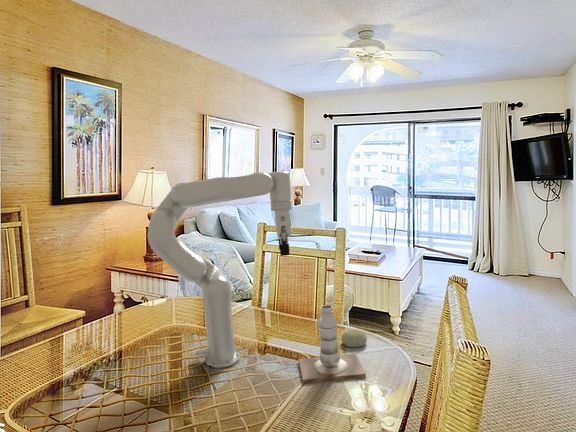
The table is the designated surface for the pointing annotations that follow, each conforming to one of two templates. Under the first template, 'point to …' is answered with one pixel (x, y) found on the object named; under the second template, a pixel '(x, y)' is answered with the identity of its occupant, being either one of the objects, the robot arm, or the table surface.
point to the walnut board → (331, 369)
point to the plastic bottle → (328, 337)
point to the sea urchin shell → (354, 338)
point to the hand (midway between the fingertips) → (284, 252)
